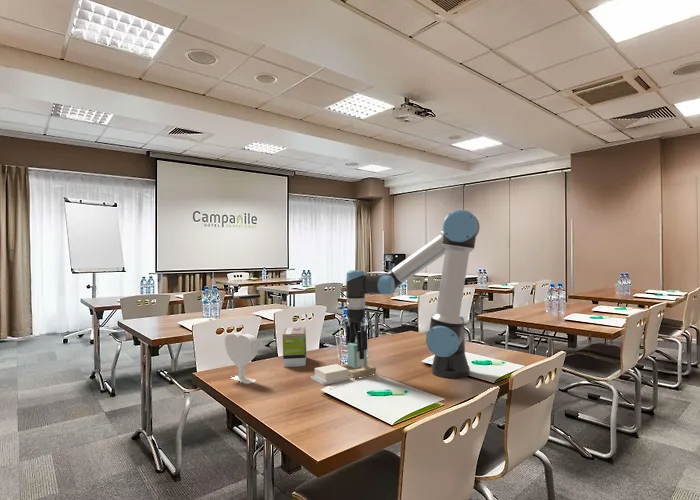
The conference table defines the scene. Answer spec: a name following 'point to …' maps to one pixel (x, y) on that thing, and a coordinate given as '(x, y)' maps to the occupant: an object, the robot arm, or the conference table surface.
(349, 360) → the teal block
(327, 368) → the cream rectangular box
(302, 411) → the conference table surface
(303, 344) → the tea box
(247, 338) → the heart sculpture
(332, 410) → the conference table surface
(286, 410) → the conference table surface
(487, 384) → the conference table surface
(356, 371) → the tray
